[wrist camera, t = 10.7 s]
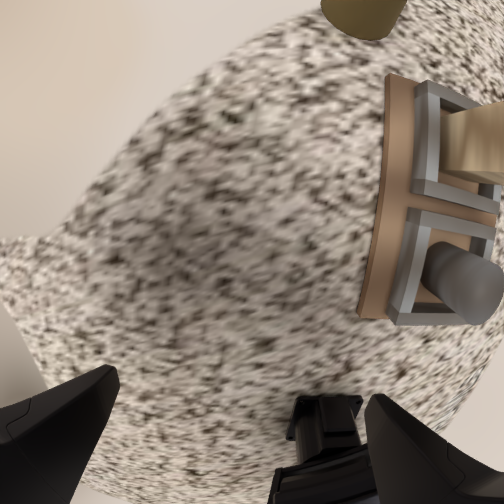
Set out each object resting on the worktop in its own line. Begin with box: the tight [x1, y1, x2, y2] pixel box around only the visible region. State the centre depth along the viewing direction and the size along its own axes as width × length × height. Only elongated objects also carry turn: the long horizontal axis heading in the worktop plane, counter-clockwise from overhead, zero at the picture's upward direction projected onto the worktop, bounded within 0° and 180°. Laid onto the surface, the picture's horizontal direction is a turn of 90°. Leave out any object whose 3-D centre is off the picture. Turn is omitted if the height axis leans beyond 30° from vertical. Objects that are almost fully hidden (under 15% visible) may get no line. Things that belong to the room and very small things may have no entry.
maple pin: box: [438, 101, 504, 186], centre depth 12 cm, size 4×4×8 cm
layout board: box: [357, 73, 504, 326], centre depth 14 cm, size 18×12×7 cm, turn 175°
